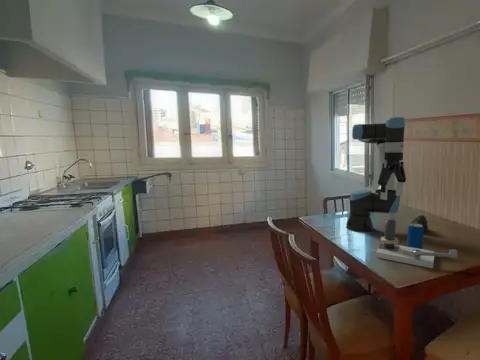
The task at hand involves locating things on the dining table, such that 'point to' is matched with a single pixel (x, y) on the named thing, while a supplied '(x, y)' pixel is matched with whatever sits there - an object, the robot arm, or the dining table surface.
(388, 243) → the grey post on base
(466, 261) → the dining table surface
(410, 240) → the beverage can
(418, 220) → the rock
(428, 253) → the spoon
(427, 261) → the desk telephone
